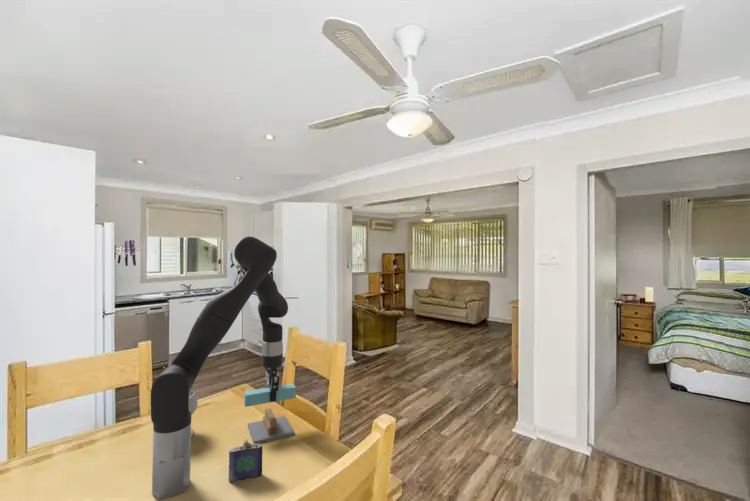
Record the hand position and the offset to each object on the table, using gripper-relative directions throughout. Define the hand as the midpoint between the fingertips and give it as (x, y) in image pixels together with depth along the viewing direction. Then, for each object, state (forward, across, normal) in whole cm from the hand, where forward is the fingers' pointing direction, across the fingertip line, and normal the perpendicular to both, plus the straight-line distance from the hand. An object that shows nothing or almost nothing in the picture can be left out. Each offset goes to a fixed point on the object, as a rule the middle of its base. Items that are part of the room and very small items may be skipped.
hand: (271, 398), depth 129 cm
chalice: (+12, +10, +31) cm, 35 cm away
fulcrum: (+12, 0, 0) cm, 12 cm away
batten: (0, 0, 0) cm, 1 cm away
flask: (+12, -24, +12) cm, 29 cm away
